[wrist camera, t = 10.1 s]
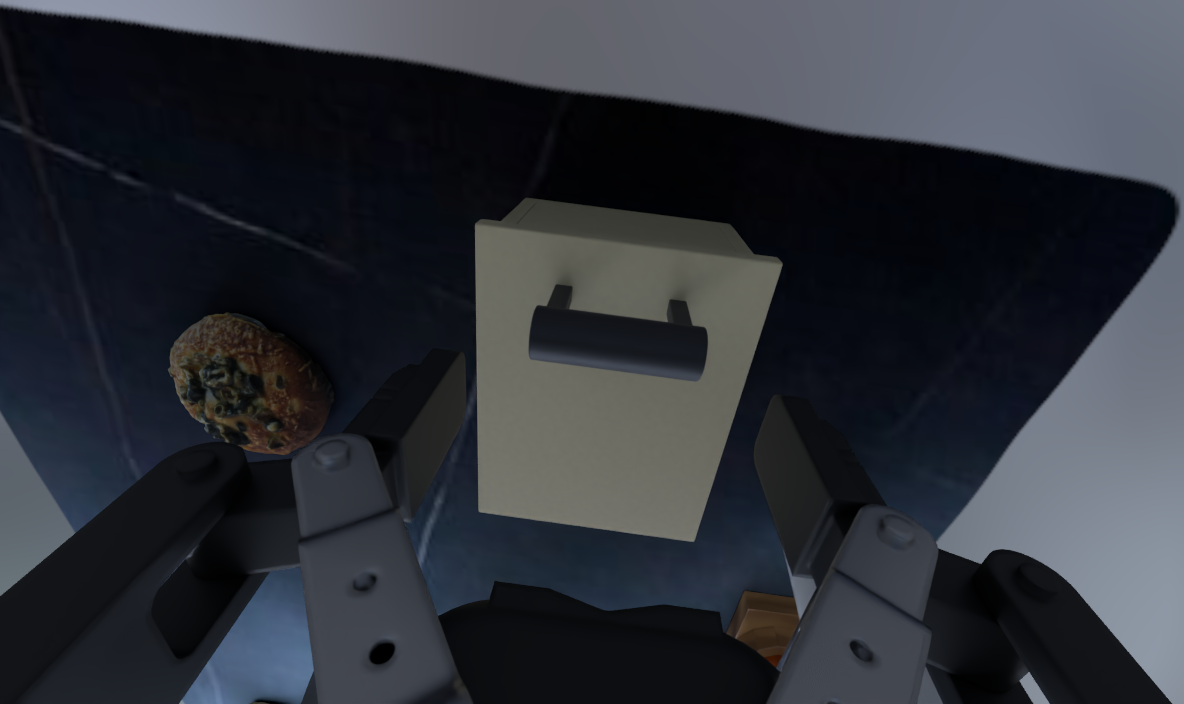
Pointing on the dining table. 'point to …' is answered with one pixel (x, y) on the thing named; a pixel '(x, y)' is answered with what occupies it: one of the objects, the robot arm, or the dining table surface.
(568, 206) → the beige open box
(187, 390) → the bread roll
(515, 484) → the lid
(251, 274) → the dining table surface
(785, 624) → the block
